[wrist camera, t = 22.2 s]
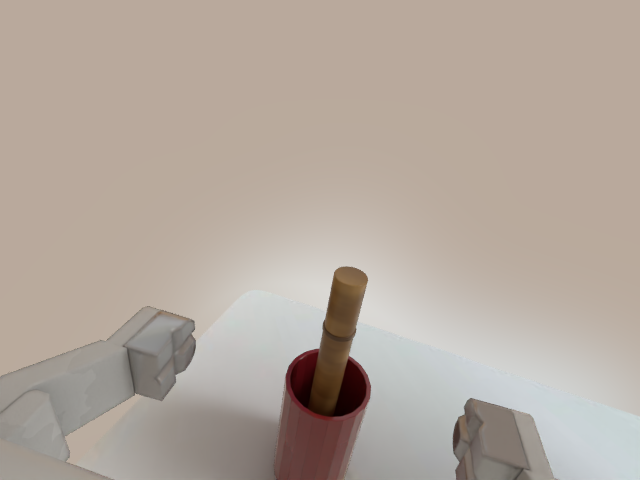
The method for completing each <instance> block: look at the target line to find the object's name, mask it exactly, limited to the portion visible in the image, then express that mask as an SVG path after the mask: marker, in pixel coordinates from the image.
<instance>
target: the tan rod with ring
mask: <svg viewBox="0 0 640 480" xmlns="http://www.w3.org/2000/svg"><path fill="white" fill-rule="evenodd" d="M367 281H368V278H367V276H366V274H365V273H364V272H363V271H361V270H359V269H357V268H353V267H340V268H338V269H337V270H336V271H335V272H334V277H333V282H332V287H331V292H330V297H329V302H328V308H327V313H326V318H325V320H324V322H323V333H322V338H321V343H320V348H319V354H318V359H317V364H316V369H315V374H314V379H313V384H312V389H311V394H310V399H309V405H308V409H309V410H310V411H312V412H314V413H316V414H319V415H323V416H327V417H333V415H334V412H335V408H336V404H337V400H338V396H339V392H340V388H341V384H342V380H343V376H344V372H345V368H346V364H347V360H348V356H349V352H350V348H351V344H352V341H353V338H354V336H355V333H356V325H357V321H358V317H359V313H360V309H361V305H362V301H363V297H364V293H365V289H366V285H367Z"/></svg>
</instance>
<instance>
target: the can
mask: <svg viewBox="0 0 640 480" xmlns="http://www.w3.org/2000/svg"><path fill="white" fill-rule="evenodd" d="M318 354H319V349H314V350H310V351H306V352H304V353H303V354H301V355H299V356H298V357H296V358H295V359H294V360H293V362H292V363H291V364H290V365H289V367H288V370H287V373H286V377H285V384H284V391H283V398H282V405H281V412H280V419H279V427H278V434H277V441H276V448H275V455H274V472H275V476H276V479H277V480H344V478H345V475H346V472H347V469H348V466H349V462H350V459H351V456H352V453H353V450H354V447H355V444H356V441H357V437H358V434H359V431H360V428H361V425H362V422H363V419H364V416H365V412H366V409H367V406H368V403H369V400H370V394H371V385H370V382H369V378H368V375H367V374H366V372H365V371H364V369H363V368H362V366H361V365H360V364H359V363H358V362H356V361H355V360H354V359H353V358H351V357H350V356H348V360H347V364H346V368H345V372H344V376H343V380H342V384H341V388H340V392H339V396H338V400H337V404H336V408H335V412H334V415H333V417H327V416H323V415H319V414H316V413H314V412H312V411H310V410H309V409H308V405H309V399H310V394H311V389H312V384H313V379H314V374H315V369H316V364H317V359H318Z"/></svg>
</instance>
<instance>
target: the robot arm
mask: <svg viewBox="0 0 640 480" xmlns="http://www.w3.org/2000/svg"><path fill="white" fill-rule="evenodd" d="M194 330H195V324H194V321H193V320H192V319H189V318H186V317H182V316H179V315H176V314H173V313H169V312H166V311H163V310H159V309H156V308H153V307H150V306H147V307H144V308H142V309H141V310H140V311H139V312H137V313H136V314H135V315H134V316H133V317H132V318H131V319H130V320H129V321H127V322H126V323H125V324H124V325H123V326H122V327H121V328H120V329H118V330H117V331H116V332H115V333H114V334H113V335H112V336H111V337H110V338H108V339H107V340H106V341H102V340H100V341H97V342H94V343H91V344H88V345H86V346H83V347H80V348H77V349H75V350H72V351H69V352H66V353H64V354H61V355H58V356H55V357H53V358H50V359H47V360H44V361H41V362H39V363H36V364H33V365H30V366H28V367H25V368H22V369H19V370H17V371H14V372H11V373H8V374H6V375H3V376H1V377H0V480H114V479H111V478H108V477H105V476H103V475H100V474H97V473H94V472H92V471H89V470H86V469H84V468H81V467H78V466H75V465H73V464H70V463H67V462H66V461H67V460H68V458H69V457H70V451H69V448H68V445H67V442H66V440H65V436H67V435H68V434H70V433H72V432H73V431H75V430H77V429H78V428H80V427H82V426H83V425H85V424H87V423H88V422H90V421H92V420H94V419H95V418H97V417H99V416H100V415H102V414H104V413H105V412H107V411H109V410H110V409H112V408H114V407H116V406H117V405H119V404H121V403H122V402H124V401H126V400H127V399H129V398H131V397H132V396H134V395H135V393H136V394H139V395H143V396H146V397H150V398H153V399H156V400H160V401H162V400H163V399H164V398H165V396H166V395H167V394H168V392H169V391H170V390H171V388H172V387H173V386H174V384H175V383H176V375H177V374H179V373H181V372H183V371H185V370H186V368H187V367H188V365H189V364H190V362H191V360H192V358H193V355H194V353H195V348H196V340H195V339H194V337H193V336H192V332H193V331H194ZM464 410H465V415H462V416H460V417H458V420H457V422H456V424H455V428H454V433H453V452H454V455H455V456H456V458H457V459H458V461H459V462H460V463H459V465H458V466H457V468H456V470H455V471H456V480H558V479H555V478H554V477H553V474H552V471H551V468H550V465H549V462H548V459H547V457H546V454H545V451H544V448H543V445H542V442H541V439H540V436H539V434H538V431H537V428H536V425H535V422H534V419H533V418H532V416H531V415H530V414H527V413H523V412H519V411H516V410H512V409H508V408H505V407H502V406H498V405H494V404H491V403H487V402H483V401H480V400H476V399H472V398H470V399H469V400H467V402H466V404H465V406H464Z"/></svg>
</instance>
